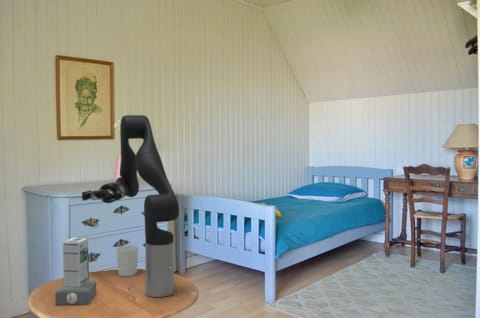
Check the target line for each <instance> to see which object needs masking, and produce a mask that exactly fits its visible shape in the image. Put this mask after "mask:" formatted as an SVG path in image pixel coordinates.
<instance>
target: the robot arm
mask: <svg viewBox="0 0 480 318" xmlns="http://www.w3.org/2000/svg"><path fill="white" fill-rule="evenodd" d="M119 127H120V128H119V129H120V130H119V132H120V133H119V134H120V138H119V139H120V166H119V177H117V179H116V180H115V181H111V182H108V183H105V184H103V185H101V186H100V188H99V189H96V190H87V191H82V192H81V200H82V201H88V200H92V201H97V200H99V201H101V202H103V203H105V204H111V203H112V204H113V203H114V202H117V201H120V200H121V199H123V198H125V196H126V197H128V198H134V197H136V196H137V195H138V194H139V190H140V184H139V183H140V182H139V178H138V176H139V177H140V178H141V179H142V180H143V181H144V182H145V183H147V184H148V185H149V186H150V187H152V188H153V189H155V191H156V192H157V194H148V195H147V196H146V197H145V199H144V202H143V215H144V236H145V252H144V253H145V256H144V257H145V286H144V287H145V289H144V290H145V295H146V296H148V297H152V298H162V297H168V296H174V290H175V262H174V233H172V232H171V231H168V230H164V229H162V228H159V227H158V223H164V222H165V223H166V222H171V221H176V220H177V219H178V217H179V214H180V207H179V206H180V205H179V202H178V199H177V196H176V194H175V192H174V190H173V187H172V185H171V183H170V181H169V179H168V177H167V174H166V171H165V168H164V165H163V161H162V157H161V156H160V154H159V151H158V148H157V145H156V142H155V139H154V135H153V130H152V125H151V122H150V119H149V117H147V116H146V115H144V114H138V115H137V114H136V115H135V114H127V115H123V116H122V117H121V120H120V125H119ZM133 139H137V140H139V139H141V140H143V141H142V143H141V145H140V146H139V148H138V150H137V152H136V153H135V151H134V150H133V148H132V147H131V145H130V142H129V141H130V140H133Z"/></svg>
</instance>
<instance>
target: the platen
mask: <svg viewBox="0 0 480 318" xmlns="http://www.w3.org/2000/svg"><path fill="white" fill-rule="evenodd" d="M92 281H93V279H89V281H88V282H87V283H85V284H83V285H82V286H81V287H70V286H64V283H63V284H62V285H63V286H62V285H61V286H62V287H61V286H60V287H61V288H60V287H59V288H60V291H86V290H87V289H88V287H89V286H90V285H91V283H92Z"/></svg>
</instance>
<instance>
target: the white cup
mask: <svg viewBox="0 0 480 318" xmlns="http://www.w3.org/2000/svg"><path fill="white" fill-rule="evenodd" d="M138 257H139V246H137V245H133V244H127V245H119V246H118V247H116V260H117V270H118V275H119V276H121V277H132V276H135V275H137V272H138V271H137V269H138V263H139V261H138V260H139V258H138Z"/></svg>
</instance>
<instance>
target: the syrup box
mask: <svg viewBox="0 0 480 318" xmlns="http://www.w3.org/2000/svg"><path fill="white" fill-rule="evenodd" d="M62 259H63V260H62V261H63V262H62V265H63V266H62V267H63V284H64V286H70V287H81V286H82V285H83V284H85V283H87V282H88V281H89V280H90V274H89V273H90V270H89V267H90V265H89V263H90V262H89V238H88V237H71V238H70V239H67V240H64V241H63V242H62Z"/></svg>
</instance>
